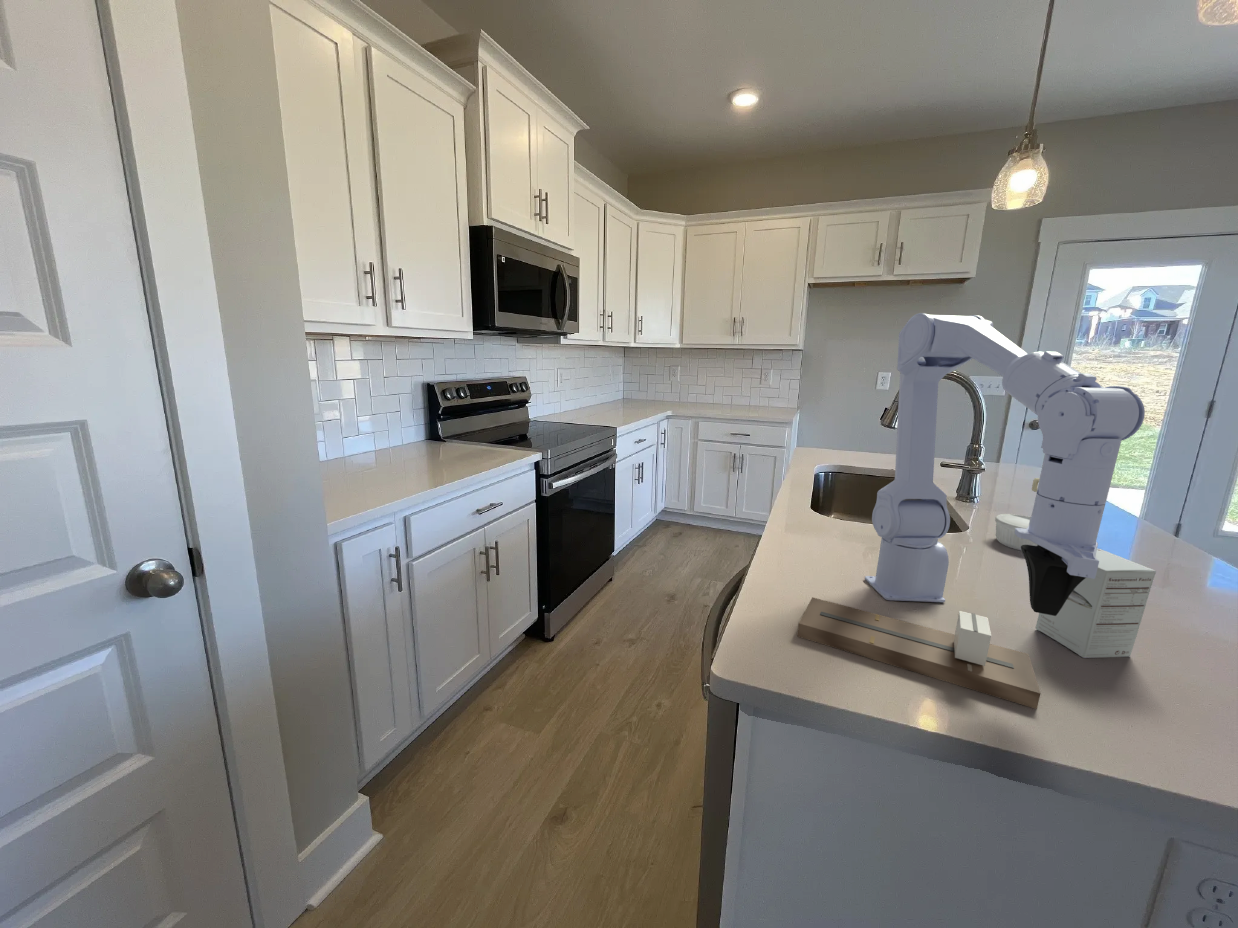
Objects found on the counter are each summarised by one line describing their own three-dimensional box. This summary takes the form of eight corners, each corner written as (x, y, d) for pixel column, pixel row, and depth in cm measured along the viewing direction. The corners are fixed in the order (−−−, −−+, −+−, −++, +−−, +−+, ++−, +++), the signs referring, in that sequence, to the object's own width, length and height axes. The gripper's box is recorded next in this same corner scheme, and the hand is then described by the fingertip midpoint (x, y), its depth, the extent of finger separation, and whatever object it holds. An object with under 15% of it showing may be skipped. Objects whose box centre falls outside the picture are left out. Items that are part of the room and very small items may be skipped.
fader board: (1025, 667, 64) (1028, 653, 64) (1036, 708, 56) (1040, 692, 56) (810, 609, 77) (812, 596, 77) (797, 636, 70) (798, 622, 69)
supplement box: (1032, 628, 73) (1051, 547, 71) (1079, 628, 74) (1100, 547, 71) (1082, 659, 66) (1105, 569, 63) (1133, 658, 67) (1159, 569, 64)
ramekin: (1053, 543, 108) (1058, 520, 107) (1063, 560, 99) (1069, 535, 98) (989, 532, 114) (993, 510, 113) (993, 547, 105) (998, 523, 104)
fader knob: (981, 645, 64) (987, 616, 63) (984, 665, 60) (991, 634, 59) (953, 638, 66) (959, 609, 65) (954, 657, 62) (960, 627, 61)
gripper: (1008, 478, 63) (987, 579, 66) (1045, 510, 50) (1017, 632, 53) (1080, 486, 60) (1055, 591, 63) (1139, 521, 48) (1104, 650, 51)
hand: (1043, 611), depth 58 cm, fingers closed
